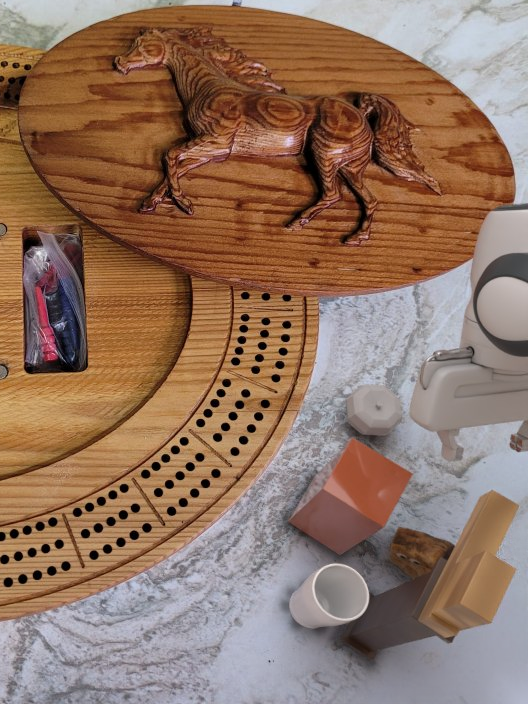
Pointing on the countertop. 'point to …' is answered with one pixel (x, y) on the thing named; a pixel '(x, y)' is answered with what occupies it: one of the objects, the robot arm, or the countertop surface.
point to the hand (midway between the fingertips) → (485, 454)
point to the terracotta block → (350, 497)
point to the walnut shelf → (394, 616)
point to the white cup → (330, 597)
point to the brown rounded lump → (417, 551)
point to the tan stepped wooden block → (473, 571)
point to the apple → (373, 410)
